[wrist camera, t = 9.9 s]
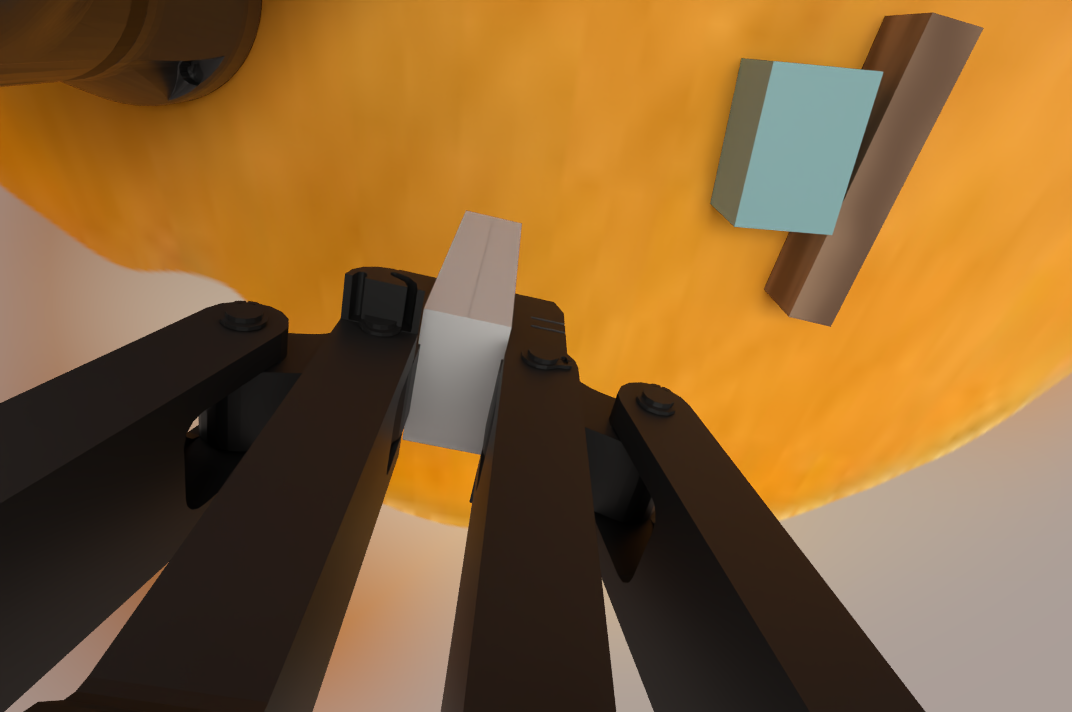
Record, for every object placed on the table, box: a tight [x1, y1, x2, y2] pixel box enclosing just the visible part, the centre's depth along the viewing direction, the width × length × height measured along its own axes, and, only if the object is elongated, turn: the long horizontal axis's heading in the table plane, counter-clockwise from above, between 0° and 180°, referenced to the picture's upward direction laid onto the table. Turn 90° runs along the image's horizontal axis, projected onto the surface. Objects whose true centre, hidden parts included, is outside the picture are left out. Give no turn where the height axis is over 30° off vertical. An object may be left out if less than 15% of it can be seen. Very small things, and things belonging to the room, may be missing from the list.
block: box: [710, 58, 883, 235], centre depth 37 cm, size 6×9×6 cm, turn 175°
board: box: [764, 13, 983, 327], centre depth 39 cm, size 3×18×5 cm, turn 166°
